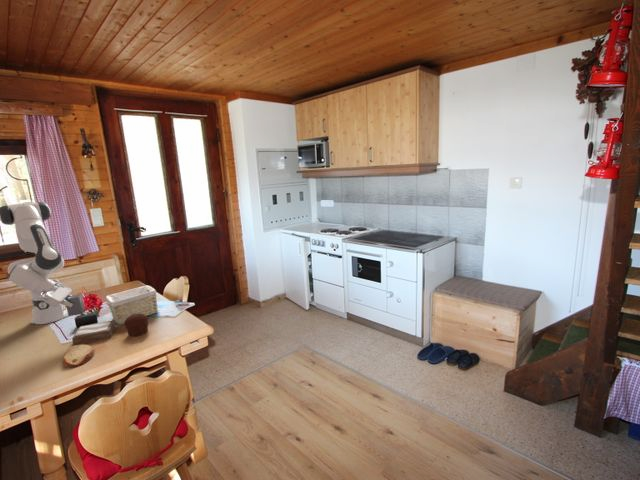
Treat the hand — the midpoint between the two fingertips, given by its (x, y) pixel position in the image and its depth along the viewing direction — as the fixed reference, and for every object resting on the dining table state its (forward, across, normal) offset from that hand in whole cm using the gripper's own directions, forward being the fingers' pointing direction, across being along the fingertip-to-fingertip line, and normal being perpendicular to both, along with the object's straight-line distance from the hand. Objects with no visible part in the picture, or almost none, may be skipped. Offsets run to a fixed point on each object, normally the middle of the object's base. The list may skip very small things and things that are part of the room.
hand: (74, 303), depth 170 cm
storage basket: (+30, +20, -2) cm, 36 cm away
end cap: (+13, +19, +15) cm, 27 cm away
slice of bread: (+16, -20, +13) cm, 29 cm away
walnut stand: (+18, +1, +10) cm, 21 cm away
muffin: (+33, -7, -5) cm, 34 cm away
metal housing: (+4, 0, +4) cm, 5 cm away
